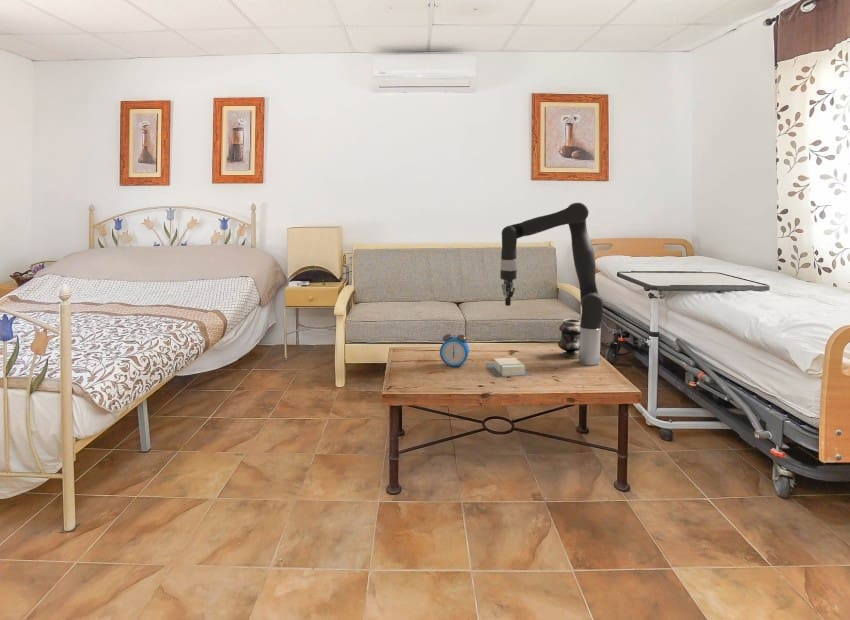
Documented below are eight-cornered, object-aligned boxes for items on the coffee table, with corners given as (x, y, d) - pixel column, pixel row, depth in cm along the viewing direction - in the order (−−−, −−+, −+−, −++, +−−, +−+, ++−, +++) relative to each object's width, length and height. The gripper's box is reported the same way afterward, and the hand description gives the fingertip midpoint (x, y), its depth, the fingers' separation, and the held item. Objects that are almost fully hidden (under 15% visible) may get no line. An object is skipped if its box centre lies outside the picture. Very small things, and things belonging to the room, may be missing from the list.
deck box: (494, 358, 242) (502, 367, 228) (515, 357, 243) (525, 365, 230) (493, 367, 243) (502, 376, 229) (515, 366, 244) (525, 375, 230)
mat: (483, 364, 249) (483, 363, 249) (516, 362, 251) (516, 361, 251) (496, 378, 228) (496, 377, 228) (532, 376, 230) (532, 375, 230)
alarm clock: (439, 366, 246) (439, 335, 243) (442, 362, 252) (441, 332, 249) (467, 368, 243) (467, 336, 240) (469, 364, 249) (469, 333, 246)
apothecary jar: (585, 359, 256) (587, 322, 253) (560, 359, 257) (562, 322, 253) (579, 352, 268) (580, 317, 265) (555, 352, 269) (556, 317, 265)
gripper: (496, 267, 253) (496, 303, 256) (504, 270, 240) (504, 308, 243) (511, 267, 254) (511, 302, 257) (520, 270, 241) (519, 307, 244)
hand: (507, 305), depth 250 cm, fingers closed
